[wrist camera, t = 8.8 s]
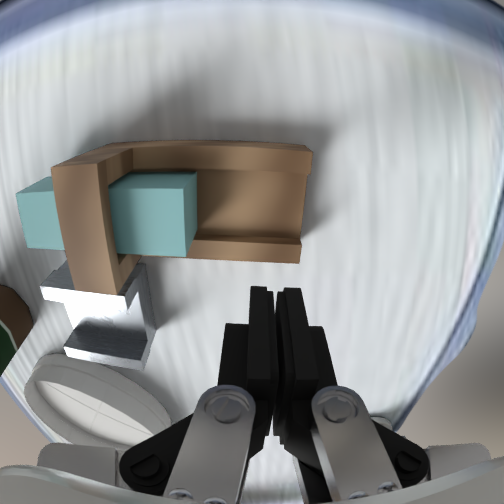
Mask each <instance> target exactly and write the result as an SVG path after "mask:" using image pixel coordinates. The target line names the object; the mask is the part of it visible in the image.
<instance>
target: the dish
mask: <svg viewBox="0 0 504 504" xmlns="http://www.w3.org/2000/svg"><path fill="white" fill-rule="evenodd" d="M24 395H25V398H26V401H27V403H28V404H29V406H30V407H31V409H32V410H33V412H34V413H35V414H36V415H37V416H38V417H39V418H40V419H41V420H42V421H43V422H44V423H45V424H46V425H47V426H48V427H50V428H51V429H52V430H53V431H54V432H56V433H57V434H59V435H60V436H62V437H63V438H65V439H66V440H68V441H69V442H71V443H73V444H75V445H85V446H98V447H115V448H116V449H117V450H128V449H130V448H131V447H133V446H135V445H137V444H139V443H141V442H142V441H144V440H146V439H148V438H150V437H152V436H154V435H156V434H157V433H159V432H161V431H163V430H165V429H167V428H168V427H170V426H171V418H170V416H169V415H168V413H167V411H166V409H165V408H164V407H163V406H162V405H161V404H160V403H159V402H158V401H157V399H156V398H155V397H154V396H153V395H151V394H150V393H149V392H147V391H146V390H145V389H143V388H142V387H140V386H139V385H138V384H137V383H135V382H133V381H132V380H130V379H128V378H126V377H125V376H123V375H121V374H119V373H118V372H116V371H114V370H112V369H110V368H107V367H105V366H103V365H100V364H98V363H96V362H92V361H87V360H82V359H78V358H73V357H69V356H67V354H59V353H55V354H50V355H45V356H44V357H42V358H41V359H40V360H39V361H38V362H37V363H36V365H35V367H34V368H33V370H32V374H31V377H30V378H29V380H28V382H27V383H26V385H25V389H24ZM61 420H62V421H61ZM85 435H86V436H85ZM101 442H102V443H101Z"/></svg>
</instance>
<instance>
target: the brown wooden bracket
mask: <svg viewBox="0 0 504 504" xmlns="http://www.w3.org/2000/svg"><path fill="white" fill-rule="evenodd" d="M312 156H313V152H312V151H311V150H310V149H309V148H307V147H306V146H305V145H295V144H283V143H269V142H252V141H226V140H164V141H139V142H122V143H111V144H108V145H105V146H102V147H100V148H97V149H94V150H92V151H89V152H87V153H84V154H81V155H79V156H76V157H74V158H72V159H69V160H67V161H64V162H62V163H60V164H58V165H55V166H53V167H51V174H52V182H53V189H54V196H55V202H56V209H57V214H58V220H59V225H60V230H61V235H62V240H63V244H64V249H65V253H66V257H67V261H68V265H69V269H70V273H71V277H72V280H73V284H74V287H75V291H83V292H92V293H101V294H110V295H117V294H118V293H119V291H120V290H121V288H122V286H123V285H124V283H125V281H126V280H127V278H128V276H129V275H130V273H131V272H132V270H133V269H134V267H135V265H136V264H137V262H138V261H139V259H140V258H141V256H155V257H173V258H192V259H212V260H232V261H253V262H274V263H296V264H299V262H300V255H301V248H302V244H301V241H300V234H301V226H302V218H303V209H304V201H305V192H306V183H307V174H311V166H312ZM128 172H197V231H196V234H195V236H194V239H193V241H192V243H191V246H190V248H189V251H188V253H187V256H186V257H175V256H157V255H139V254H121V253H117V252H116V245H115V239H114V232H113V225H112V218H111V210H110V201H109V191H108V185H109V184H111V183H112V182H114V181H115V180H117V179H118V178H120V177H122V176H123V175H125V174H126V173H128Z"/></svg>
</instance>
